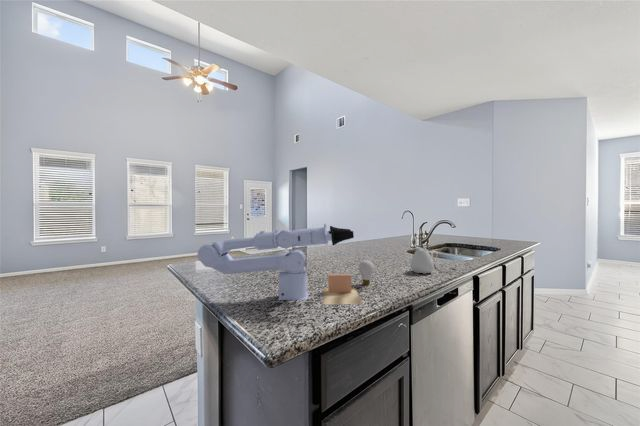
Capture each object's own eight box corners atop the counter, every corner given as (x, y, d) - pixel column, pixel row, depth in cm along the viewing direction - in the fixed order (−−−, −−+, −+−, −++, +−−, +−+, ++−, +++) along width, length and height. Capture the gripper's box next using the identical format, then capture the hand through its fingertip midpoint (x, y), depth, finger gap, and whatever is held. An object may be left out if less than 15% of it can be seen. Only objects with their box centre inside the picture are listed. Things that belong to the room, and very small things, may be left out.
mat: (323, 306, 82) (323, 304, 82) (322, 289, 100) (322, 287, 100) (362, 306, 82) (362, 304, 82) (354, 289, 100) (354, 287, 100)
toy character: (433, 270, 129) (433, 245, 129) (434, 275, 120) (433, 248, 120) (411, 269, 133) (411, 245, 133) (409, 273, 124) (409, 247, 123)
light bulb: (374, 288, 101) (373, 261, 101) (358, 287, 102) (357, 261, 102) (374, 284, 107) (373, 259, 107) (359, 283, 108) (358, 258, 108)
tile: (328, 292, 94) (328, 275, 94) (328, 290, 96) (328, 274, 96) (351, 292, 94) (351, 275, 94) (350, 290, 96) (350, 273, 96)
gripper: (310, 226, 84) (353, 222, 84) (311, 223, 99) (348, 220, 99) (312, 248, 84) (355, 245, 84) (313, 243, 99) (350, 239, 99)
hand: (351, 233), depth 91 cm, fingers open, 7 cm apart
